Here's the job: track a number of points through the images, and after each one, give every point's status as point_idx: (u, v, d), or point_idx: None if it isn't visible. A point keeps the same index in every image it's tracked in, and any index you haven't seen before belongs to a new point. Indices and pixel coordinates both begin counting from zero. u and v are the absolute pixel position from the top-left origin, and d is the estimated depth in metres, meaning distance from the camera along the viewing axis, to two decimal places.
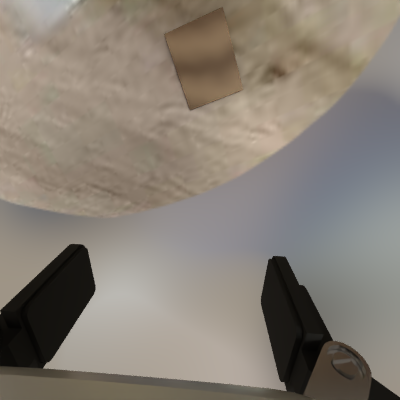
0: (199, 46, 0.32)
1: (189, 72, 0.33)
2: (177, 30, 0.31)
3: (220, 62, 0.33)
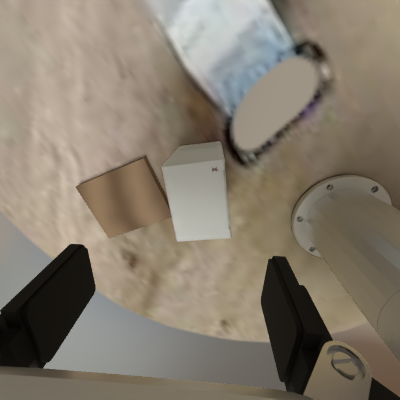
0: (138, 195, 0.30)
1: (112, 185, 0.29)
2: (148, 173, 0.28)
3: (127, 216, 0.31)
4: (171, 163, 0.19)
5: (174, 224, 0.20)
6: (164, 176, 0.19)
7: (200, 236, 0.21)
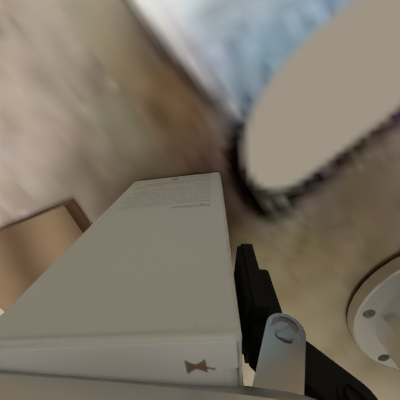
0: None
1: (13, 253, 0.15)
2: (78, 232, 0.14)
3: None
4: (27, 318, 0.05)
5: None
6: None
7: None
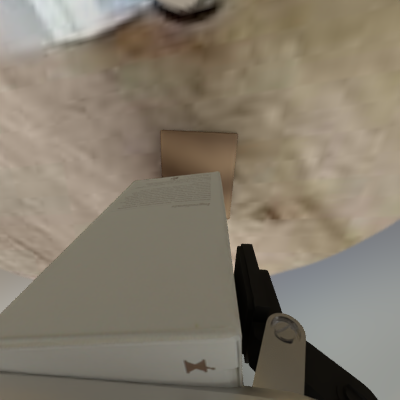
0: (197, 160, 0.26)
1: None
2: (177, 133, 0.25)
3: None
4: (25, 318, 0.05)
5: None
6: None
7: None
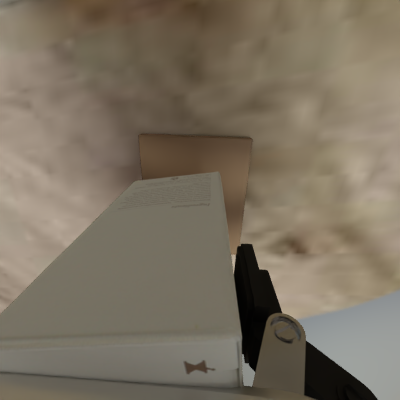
0: None
1: None
2: (163, 139, 0.17)
3: None
4: (25, 318, 0.05)
5: None
6: None
7: None
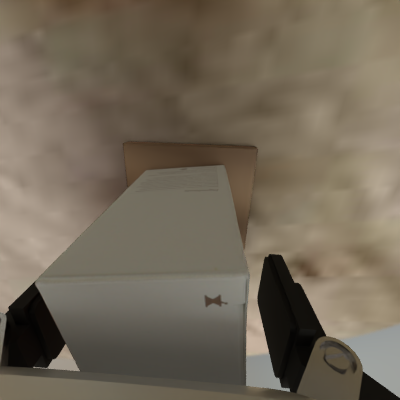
0: None
1: None
2: (152, 148, 0.14)
3: None
4: (77, 264, 0.06)
5: None
6: (50, 309, 0.06)
7: None
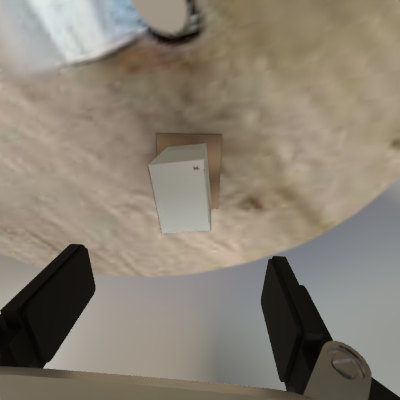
0: None
1: None
2: (170, 136, 0.29)
3: None
4: (157, 162, 0.21)
5: (159, 217, 0.22)
6: (151, 173, 0.21)
7: (182, 228, 0.23)
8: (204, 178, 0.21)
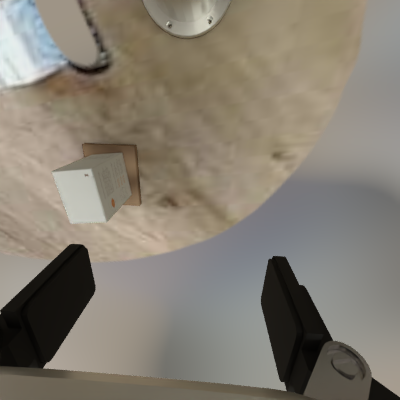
0: None
1: None
2: (93, 146, 0.36)
3: None
4: (59, 169, 0.28)
5: (66, 211, 0.30)
6: (54, 178, 0.28)
7: (85, 220, 0.30)
8: (94, 182, 0.28)
